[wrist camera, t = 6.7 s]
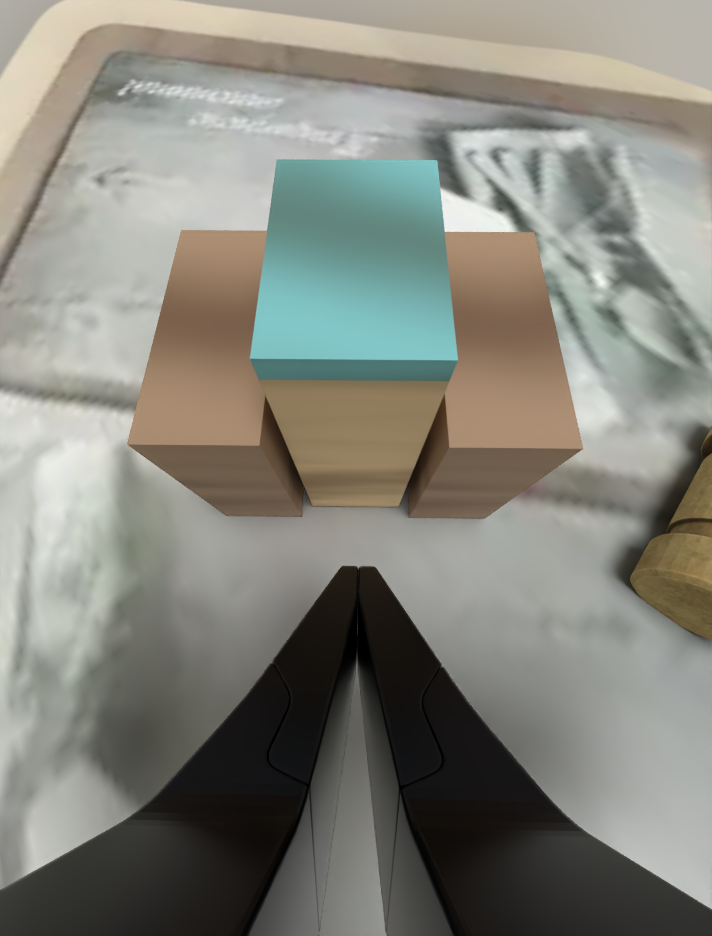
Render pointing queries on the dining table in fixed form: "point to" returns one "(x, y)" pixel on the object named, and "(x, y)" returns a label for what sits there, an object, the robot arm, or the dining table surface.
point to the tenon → (355, 322)
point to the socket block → (453, 429)
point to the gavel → (683, 557)
